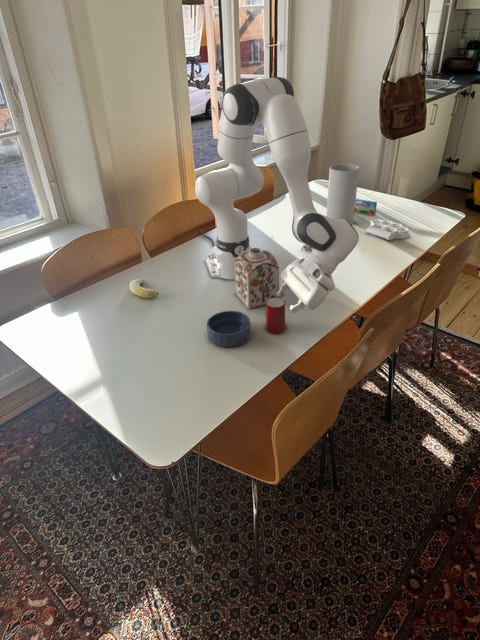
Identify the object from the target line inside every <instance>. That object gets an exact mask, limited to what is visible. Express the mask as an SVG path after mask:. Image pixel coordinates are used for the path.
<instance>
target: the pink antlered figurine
mask: <svg viewBox="0 0 480 640" xmlns="http://www.w3.org/2000/svg"><path fill="white" fill-rule="evenodd" d="M304 250H305V251H306V252H308V251H312V250H313V248H312V247H310V246H308V245H305V244H303V245H302V247H301V251H304Z"/></svg>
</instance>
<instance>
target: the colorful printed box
mask: <svg viewBox="0 0 480 640" xmlns="http://www.w3.org/2000/svg"><path fill="white" fill-rule="evenodd" d="M377 205H378V202H377V201H373V200H367V199H359V198H356V202H355V212H354V214H355V213H356V214H362V215H368V216H369V215H370V216H375V215H376V214H377V208H378V207H377Z"/></svg>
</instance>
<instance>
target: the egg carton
mask: <svg viewBox="0 0 480 640" xmlns="http://www.w3.org/2000/svg"><path fill="white" fill-rule="evenodd" d="M365 233H366V234H368V235H369V234H370V235H372V236H376V237H378V238H381V239H384V240H387V241H392V240H394V239H398V240H405V239H408V238H409V234H410V228H409V227H408V226H407V227H406V226H404V225H403V224H401V223H399V222H394V221H392V220H384V219H381V218H375V219H374V218H373V219H372V220H371V221H370V225H369V226H368V227H367V228H366V229H365Z"/></svg>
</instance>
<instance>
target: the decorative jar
mask: <svg viewBox="0 0 480 640" xmlns="http://www.w3.org/2000/svg"><path fill="white" fill-rule="evenodd" d="M234 269H235V280H234V287H235V294H236V295H237V297H238V298H239V299H240V300H241V301H242V303H243V304H244V305H245V306H246V307H247V308H248V309H249V310H250V309H254V308H258V307H261V306H266V302H267V300H269V299H271V298H279V297H278V296H277V293H278V292H279V291H280V266H279V263H278V261H277V260H276V257H275V255H273V253H272V252H271V251H269V250H266V249H262V248H261V247H251V249H250V250H248V251H244V252H242V253H241V254H240V255H239V256H238V257H237V258H236V259H235V261H234Z"/></svg>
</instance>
